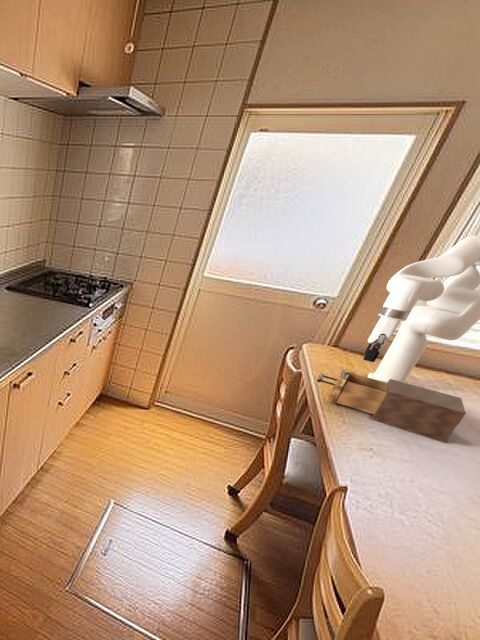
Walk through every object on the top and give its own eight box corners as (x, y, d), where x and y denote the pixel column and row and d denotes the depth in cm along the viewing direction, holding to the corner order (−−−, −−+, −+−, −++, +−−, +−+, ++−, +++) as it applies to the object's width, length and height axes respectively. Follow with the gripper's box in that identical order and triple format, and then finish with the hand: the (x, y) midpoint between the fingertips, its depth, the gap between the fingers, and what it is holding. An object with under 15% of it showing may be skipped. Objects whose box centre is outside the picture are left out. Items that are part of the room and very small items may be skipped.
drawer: (308, 395, 153) (320, 374, 149) (314, 385, 162) (324, 364, 158) (387, 420, 140) (401, 397, 136) (388, 407, 149) (401, 385, 145)
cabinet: (371, 419, 142) (388, 391, 137) (373, 405, 152) (389, 378, 147) (444, 442, 132) (465, 413, 127) (441, 425, 141) (461, 398, 136)
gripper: (380, 306, 156) (357, 349, 164) (379, 314, 145) (354, 360, 153) (407, 312, 152) (382, 355, 160) (408, 320, 140) (381, 367, 148)
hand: (369, 357), depth 156 cm, fingers open, 9 cm apart
